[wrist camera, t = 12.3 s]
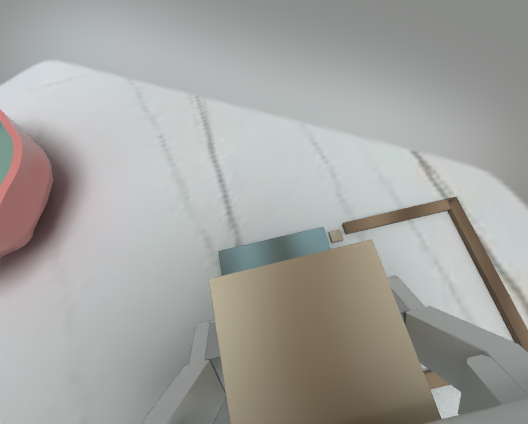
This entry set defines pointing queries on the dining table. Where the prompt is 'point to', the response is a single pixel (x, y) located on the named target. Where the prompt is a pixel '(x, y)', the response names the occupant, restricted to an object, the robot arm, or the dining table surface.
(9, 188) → the cell model
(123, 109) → the dining table surface
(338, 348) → the birch stub block
